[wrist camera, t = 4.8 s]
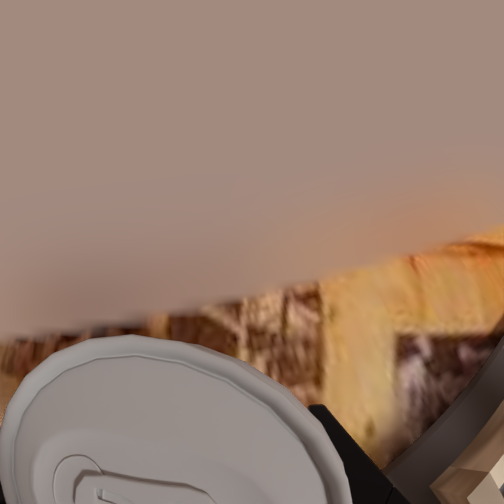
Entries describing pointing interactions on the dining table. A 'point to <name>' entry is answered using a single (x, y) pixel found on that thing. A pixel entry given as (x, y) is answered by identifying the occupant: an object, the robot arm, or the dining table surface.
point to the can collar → (460, 447)
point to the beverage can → (162, 431)
